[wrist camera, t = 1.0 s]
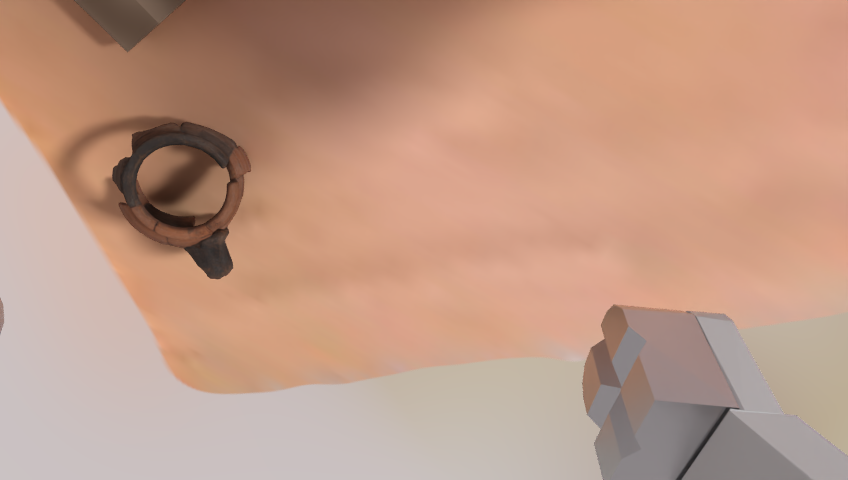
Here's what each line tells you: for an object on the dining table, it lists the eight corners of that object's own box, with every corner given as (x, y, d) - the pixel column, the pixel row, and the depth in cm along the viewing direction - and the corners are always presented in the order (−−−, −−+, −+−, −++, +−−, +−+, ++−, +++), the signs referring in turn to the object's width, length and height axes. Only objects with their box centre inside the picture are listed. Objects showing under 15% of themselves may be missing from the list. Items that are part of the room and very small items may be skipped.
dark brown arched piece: (98, 151, 46) (74, 160, 39) (213, 96, 48) (213, 94, 41) (183, 284, 50) (177, 316, 43) (287, 229, 52) (300, 250, 44)
